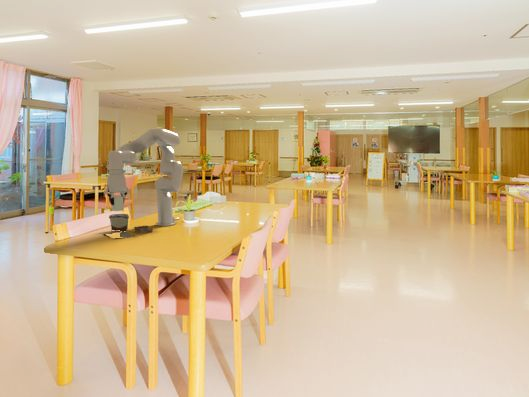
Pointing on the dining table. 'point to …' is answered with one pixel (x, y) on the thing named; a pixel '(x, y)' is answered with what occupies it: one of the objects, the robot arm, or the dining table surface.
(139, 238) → the dining table surface
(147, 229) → the walnut holder
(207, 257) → the dining table surface
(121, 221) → the food container
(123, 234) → the charcoal mat
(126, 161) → the robot arm
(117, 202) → the sage block
